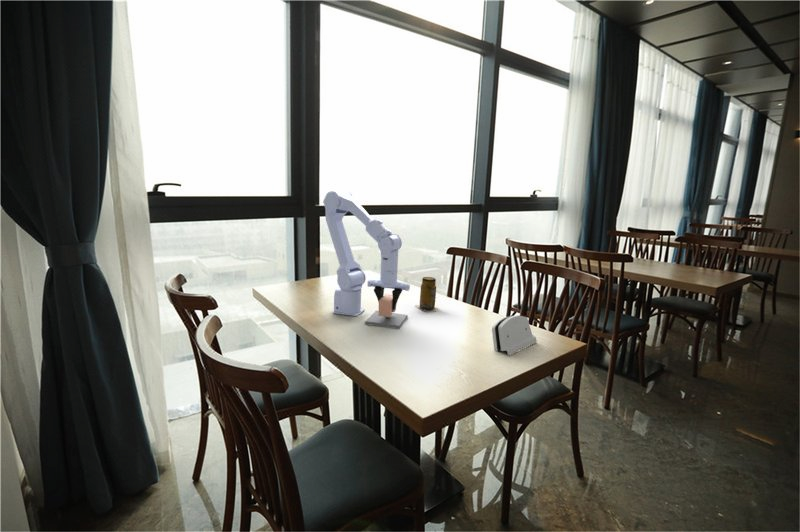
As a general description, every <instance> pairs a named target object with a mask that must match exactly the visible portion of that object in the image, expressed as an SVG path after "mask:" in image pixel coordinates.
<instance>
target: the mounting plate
mask: <svg viewBox="0 0 800 532" xmlns="http://www.w3.org/2000/svg"><path fill="white" fill-rule="evenodd" d="M378 312H379V310H375V311H374V312H373V313H372V314H371V315H370V316H369V317H368V318H367V319H366V320H365V321H364V324H365V325H367V326H376V327H377V326H378V327H385V328H392V329H399V330H400V328H401V327H402V326H403V324H404V323H405V321H406V320H407V319H408V314H405V313H396V312H392V315H391V316H390V317H389V319H386V318H385V317H384V316H378Z"/></svg>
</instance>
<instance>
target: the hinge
mask: <svg viewBox="0 0 800 532" xmlns="http://www.w3.org/2000/svg"><path fill="white" fill-rule="evenodd" d="M491 333H492V341H493V350H494V351H495V350H496V351H495V352H498V351H502V352H504V351H505V352H507V356H508V355H510V356H512V355H514V354H513V353H515V352H517V351H519V350H521V349H523V348H525V347H527V346H529V345H531V346H533V345H535V344H534V343H536V342H537V343H538V341H537V337H536V335H534V334H533V332H532V329H531V325H530V323H529V319H528V317H527V316H524V315H508V316H506V317H503V318H501V319H499V320H498V321H496V322H495V323H494V325H492V328H491ZM537 343H536V344H537ZM532 344H533V345H532ZM529 347H530V346H529ZM527 348H528V347H527ZM525 349H526V348H525ZM523 350H524V349H523ZM521 351H522V350H521ZM519 352H520V351H519ZM517 353H518V352H517ZM511 354H512V355H511ZM515 354H516V353H515Z"/></svg>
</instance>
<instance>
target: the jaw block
mask: <svg viewBox="0 0 800 532" xmlns="http://www.w3.org/2000/svg"><path fill="white" fill-rule="evenodd" d="M392 303H393V295H392V294H386V293H384V295H383V297H382V298H381V299H380V300H379V302H378V311H379V312H378V316H384V317H390V316H391V315H392V313H396V311H397V308H396V309H395V310H392Z"/></svg>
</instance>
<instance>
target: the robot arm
mask: <svg viewBox="0 0 800 532" xmlns="http://www.w3.org/2000/svg"><path fill="white" fill-rule="evenodd" d="M322 202H323V206H324V208H325V215H324V216H325V222H326V225H327V228H328V232H329V235H330V238H331V241H332V244H333V247H334V250H335V254H336V258H337V261H338V263H339V265H338V267H337V269H336V274H337V278H336V279H337V280H336V281H337V285H338V287H336V288H335V290H334V296H333V312H332V314H338V315H346V316H354V317H358V316H359V315H360V314H362V313H363V312H364V311H365V308H362V288H363V285H364V284H365V283H366V279H367V278H366V277H367V276H366V274H365V272H364V271H363V270H362V268H361V265H360V263H358V262H357V261H355V258H354V255H353V251H352V249H351V246H350V242H349V239H348V236H347V232H346V229H345V226H344V223H343V218H344V217H345V215H347V213H348V212H350V213H351V214H352V215H353V216H354V217H356V219H358V220H359V221H360V222H361V223H362V224H363V225H364V226H365V232H367V234H368V235H369V236H370V237H371V238H372V239H373V240H374V241H375V243H377V245H378V249H379V251H380V257H381V258H380V278H379V280H374V279H373V280H372V279H369V280H367V287H369V288H370V287H373V292H374V294H375V296H376V298H377V301H378V302H377V303H379V300H380V299H381V298H382V297H383V296H384V295H385V289H391V290H392V289H393V290H392V291H391V293H392V294H391V295H393V303H392V310H395V309H396V310H397V305H398V300H399V298H400V296H401V294H402V292H403V291H405V292H409V291H410V285H411V284H409V283H403V282H399V281H398V269H399V268H398V265H399V250H400V249H401V247H402V243H403V242H402V239H401V237H400V235H398V234H396V233H393V231H392V230H390V229H388V228H387V227H386V226H385V224H383V223H384V222H383V221H382V219H377V218H372V216H371V215H370V214H369V213H368V211H367V210H366V209H365V208H364V207H363V206H362V205H361V203H359V201H358V199H357V197H356V196H354V195H353V193H352V192H350V191H335V190H330V191H328V192H327V193H326V194H325V196H324V199H323V201H322Z"/></svg>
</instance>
